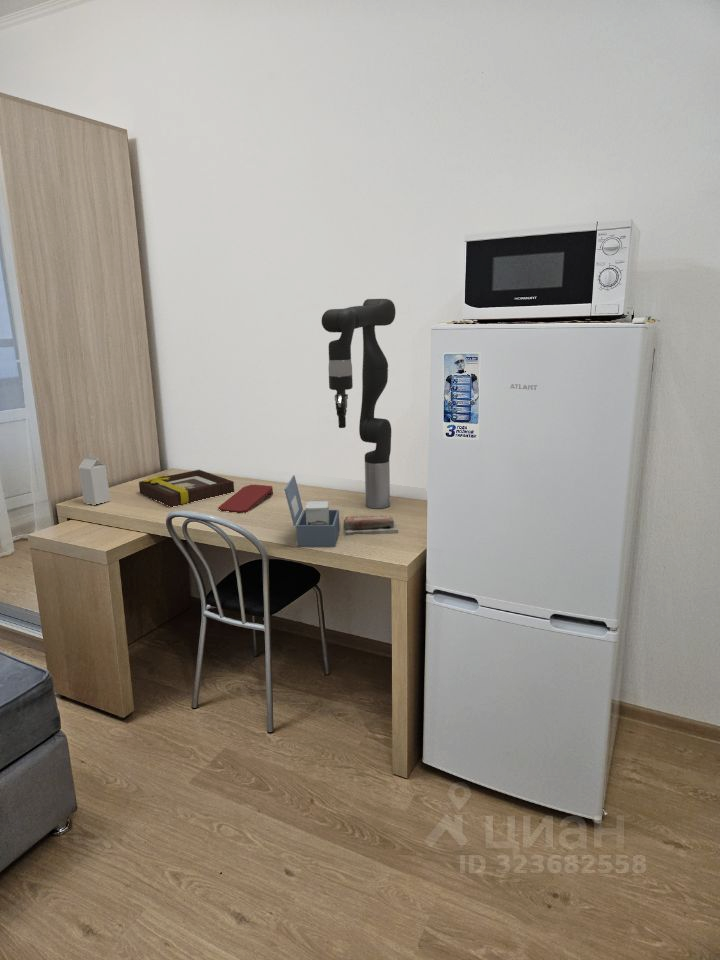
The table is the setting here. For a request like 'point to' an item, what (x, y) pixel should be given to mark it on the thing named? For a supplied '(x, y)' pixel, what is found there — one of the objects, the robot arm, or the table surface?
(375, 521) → the packaged product
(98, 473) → the milk carton
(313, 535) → the open blue-gray box
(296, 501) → the lid
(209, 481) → the brown gift box
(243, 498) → the red wedge
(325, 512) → the supplement box
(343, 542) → the table surface
